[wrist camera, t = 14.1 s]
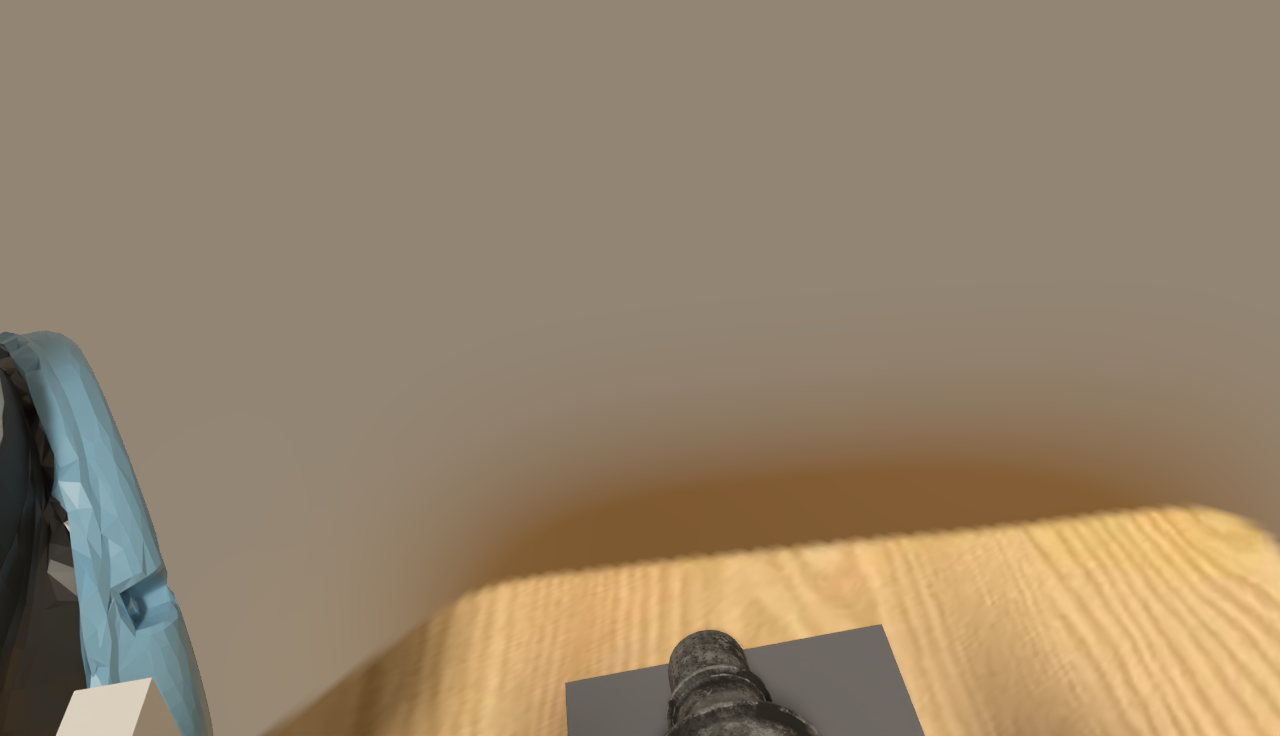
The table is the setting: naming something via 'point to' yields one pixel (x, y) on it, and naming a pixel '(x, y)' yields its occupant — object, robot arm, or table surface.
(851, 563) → the table surface
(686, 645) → the salt shaker
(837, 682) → the mat
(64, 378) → the robot arm
